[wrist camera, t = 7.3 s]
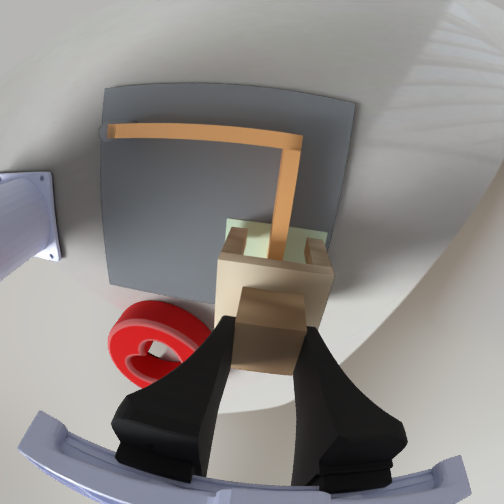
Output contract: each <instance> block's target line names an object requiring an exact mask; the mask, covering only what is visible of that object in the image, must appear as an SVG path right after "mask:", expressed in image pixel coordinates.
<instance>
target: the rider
mask: <svg viewBox="0 0 504 504" xmlns="http://www.w3.org/2000/svg"><path fill="white" fill-rule="evenodd" d="M247 233H248V229H246V228H238V227H231V229H230V232H229V234H228V236H227V239H226V241H225V243H224V246H223V248H222V250H221V253H220V255H219V258H218V263H217V280H216V298H215V318H214V328H215V327H216V326H217V324H218V323H219V321H220V319H221V317H222V316H224V315H227V316H233V317H236V320H235V333H234V343H233V352H232V362H231V368H233V369H240V370H247V371H254V372H262V373H271V374H280V375H290V376H292V375H293V371H294V368H295V365H296V362H297V359H298V356H299V353H300V350H301V347H302V344H303V341H304V338H305V335H306V333H307V326H312V327H316V328H317V330H318V328H319V325H320V322H321V319H322V316H323V313H324V310H325V307H326V304H327V301H328V297H329V294H330V291H331V288H332V284H333V281H334V277H335V274H334V271H333V268H332V265H331V262H330V259H329V256H328V253H327V250H326V247H325V244H324V242H323V240H322V239H315V238H308V237H307V240H306V244H305V249H304V255H305V261H306V264H303V263H296V262H289V261H282V260H275V259H267V258H260V257H253V256H246V255H244V251H245V247H246V242H247Z"/></svg>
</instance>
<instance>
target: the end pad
mask: <svg viewBox="0 0 504 504" xmlns="http://www.w3.org/2000/svg"><path fill="white" fill-rule="evenodd" d="M271 225H272V224H269V223H261V222H254V221H247V220H239V219H232V218H227V224H226V235H225V241H226V239H227V236H228V234H229V232H230V229H231V227H238V228H246V229H248V233H247V242H246V247H245V251H244V255H246V256H253V257H260V258H267V252H268V245H269V239H270V232H271ZM327 234H328V232H322V231H316V230H309V229H303V228H296V227H289V229H288V234H287V240H286V246H285V251H284V257H283V261H289V262H296V263H303V264H306V261H305V255H304V249H305V244H306V240H307V237H308V238H315V239H322V240H323V242H324V244H325V243H326V239H327Z"/></svg>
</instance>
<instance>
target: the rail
mask: <svg viewBox="0 0 504 504" xmlns="http://www.w3.org/2000/svg"><path fill="white" fill-rule="evenodd" d="M99 136H100V138H101V140H102V141H104V142H110V141H116V140H123V139H130V138H171V139H193V140H208V141H221V142H232V143H242V144H251V145H259V146H267V147H274V148H281V149H282V155H281V162H280V170H279V177H278V184H277V191H276V198H275V205H274V211H273V218H272V225H271V232H270V239H269V245H268V252H267V259H275V260H282V261H283V257H284V251H285V246H286V240H287V234H288V229H289V223H290V217H291V211H292V205H293V199H294V193H295V186H296V180H297V174H298V167H299V161H300V154H301V147H302V140H303V135H297V134H291V133H284V132H277V131H269V130H261V129H253V128H243V127H233V126H220V125H205V124H183V123H138V122H136V121H134V120H126V121H106V122H104V123H103V124H102V125H101V126H100V129H99Z"/></svg>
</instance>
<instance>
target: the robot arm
mask: <svg viewBox="0 0 504 504" xmlns="http://www.w3.org/2000/svg"><path fill="white" fill-rule="evenodd" d="M43 177H44V179H43ZM33 256H36V257H40V258H44V259H48V260H52V261H56V262H58V261H59V260H61V252H60V246H59V240H58V233H57V226H56V218H55V209H54V199H53V185H52V175H51V173H50V172H19V173H0V281H2V280H3V279H4V278H5V277H7V276H8V275H9V274H10V273H12V272H13V271H15V270H16V269H17V268H18V267H20V266H21V265H22V264H24V263H25V262H26V261H28V260H29V259H31V258H32V257H33ZM235 320H236V317H233V316H227V315H224V316H222V317H221V319H220V321H219V323H218V324H217V326H216V327H215V328H214V330H213V331H212V332H211V334H210V335H209V336H208V337H207V339H206V340H205V341H204V342H203V343H202V344H201V345H200V346H199V348H198V349H197V350H196V351H195V352H194V353H193V354H192V355H191V356H190V357H188V358H187V359H186V360H185V361H184V362H183V363H182V364H180V365H179V366H178V367H177V368H175V369H174V370H172V371H171V372H170V373H168V374H167V375H165V376H164V377H162V378H161V379H159V380H157V381H156V382H154V383H152V384H150V385H149V386H147V387H145V388H143V389H141V390H138V391H136V392H134V393H132V394H129V395H127V396H126V397H125V399H124V400H123V401H122V403H121V404H120V406H119V407H118V409H117V411H116V413H115V415H114V418H113V420H112V422H111V425H112V428H113V430H114V432H115V434H116V435H117V437H118V438H119V440H120V445H119V447H118V449H117V452H114V451H111V450H109V449H106V448H104V447H101V446H99V445H97V444H94V443H92V442H90V441H88V440H85V439H83V438H81V437H79V436H77V435H75V434H73V433H71V432H69V431H68V430H67V428H66V426H65V425H64V424H63V423H62V422H60V421H59V420H57V419H55V418H53V417H52V416H50V415H48V414H46V413H45V412H43V411H39V412H38V414H37V415H36V417H35V418H34V420H33V422H32V423H31V425H30V427H29V429H28V430H27V432H26V433H25V435H24V437H23V439H22V440H21V442H20V444H19V446H18V447H17V449H18V451H19V452H20V453H21V454H23V455H24V456H25V457H26V458H27V459H28V460H29V461H31V462H32V463H33V464H34V465H35V466H36V467H38V468H39V469H40V470H41V471H43V472H44V473H46V474H47V475H49V476H50V477H52V478H54V479H55V480H58V481H59V482H61V483H62V484H64V485H66V486H68V487H69V488H71V489H73V490H75V491H77V492H79V493H81V494H83V495H84V496H86V497H88V498H90V499H92V500H94V501H97V502H99V503H101V504H455V503H457V502H459V501H461V500H463V499H464V498H466V497H468V496H470V495H471V489H470V485H469V482H468V478H467V474H466V471H465V467H464V464H463V461H462V457H461V455H458V456H455V457H452V458H449V459H446V460H443V461H442V462H439V463H438V464H436V465H435V466H434V467H433V468H432V469H428V470H425V471H421V472H417V473H413V474H408V475H404V476H399V477H394V478H392V477H391V471H390V468H392V467H393V462H392V459H393V458H394V457H395V456H396V455H397V454H398V453H400V452H401V451H402V450H403V449H404V448H405V446H406V445H407V443H408V441H407V437H406V433H405V429H404V427H403V424H402V422H400V421H399V420H397V419H396V418H394V417H392V416H391V415H389V414H388V413H386V412H385V411H383V410H382V409H381V408H379V407H378V406H377V405H376V404H374V403H373V402H372V401H371V400H370V399H369V398H367V397H366V396H365V395H364V394H363V393H362V392H361V391H360V390H359V389H358V388H357V387H356V386H355V385H354V384H353V383H352V381H351V380H350V379H349V378H348V377H347V376H346V374H345V373H344V372H343V370H342V369H341V368H340V366H339V365H338V363H337V362H336V360H335V359H334V357H333V356H332V354H331V353H330V351H329V349H328V348H327V346H326V344H325V343H324V341H323V339H322V337H321V336H320V334H319V332H318V330H317V328H316V327H312V326H307V333H306V335H305V338H304V341H303V344H302V347H301V350H300V353H299V356H298V359H297V362H296V365H295V368H294V371H293V380H294V392H295V403H296V418H297V421H296V441H295V454H294V465H293V474H292V481H291V486H275V485H259V484H247V483H239V482H232V481H224V480H218V479H212V478H206V475H207V469H208V463H209V458H210V452H211V446H212V440H213V435H214V429H215V424H216V418H217V413H218V409H219V405H220V401H221V398H222V395H223V391H224V388H225V385H226V381H227V378H228V375H229V371H230V368H231V362H232V352H233V343H234V333H235Z"/></svg>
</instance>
